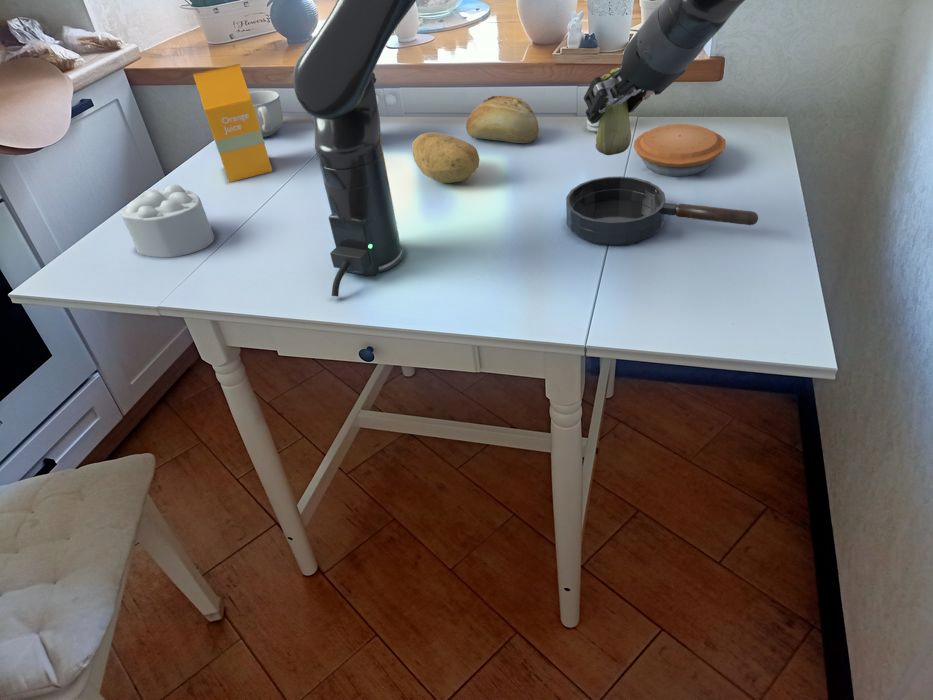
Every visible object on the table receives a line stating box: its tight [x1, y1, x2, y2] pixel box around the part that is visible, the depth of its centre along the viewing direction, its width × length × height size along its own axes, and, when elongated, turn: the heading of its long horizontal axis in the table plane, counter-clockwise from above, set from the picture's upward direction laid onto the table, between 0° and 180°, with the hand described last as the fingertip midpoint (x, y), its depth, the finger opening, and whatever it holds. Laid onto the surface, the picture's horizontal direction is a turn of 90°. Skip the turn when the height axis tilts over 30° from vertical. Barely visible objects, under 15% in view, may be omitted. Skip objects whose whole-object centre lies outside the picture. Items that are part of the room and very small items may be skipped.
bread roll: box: [465, 95, 540, 144], centre depth 140 cm, size 10×15×8 cm, turn 69°
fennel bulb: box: [595, 67, 632, 156], centre depth 102 cm, size 6×5×12 cm
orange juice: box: [192, 63, 273, 183], centre depth 138 cm, size 8×9×20 cm
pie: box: [633, 123, 727, 177], centre depth 125 cm, size 16×16×5 cm
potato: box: [411, 131, 481, 184], centre depth 128 cm, size 10×14×8 cm
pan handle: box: [662, 202, 759, 226], centre depth 105 cm, size 2×14×2 cm, turn 65°
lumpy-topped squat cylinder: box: [120, 184, 215, 258], centre depth 121 cm, size 10×13×9 cm
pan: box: [565, 175, 667, 246], centre depth 112 cm, size 15×15×4 cm
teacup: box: [248, 89, 284, 138], centre depth 155 cm, size 14×11×8 cm
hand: (608, 112), depth 104 cm, fingers closed on fennel bulb, 5 cm apart
